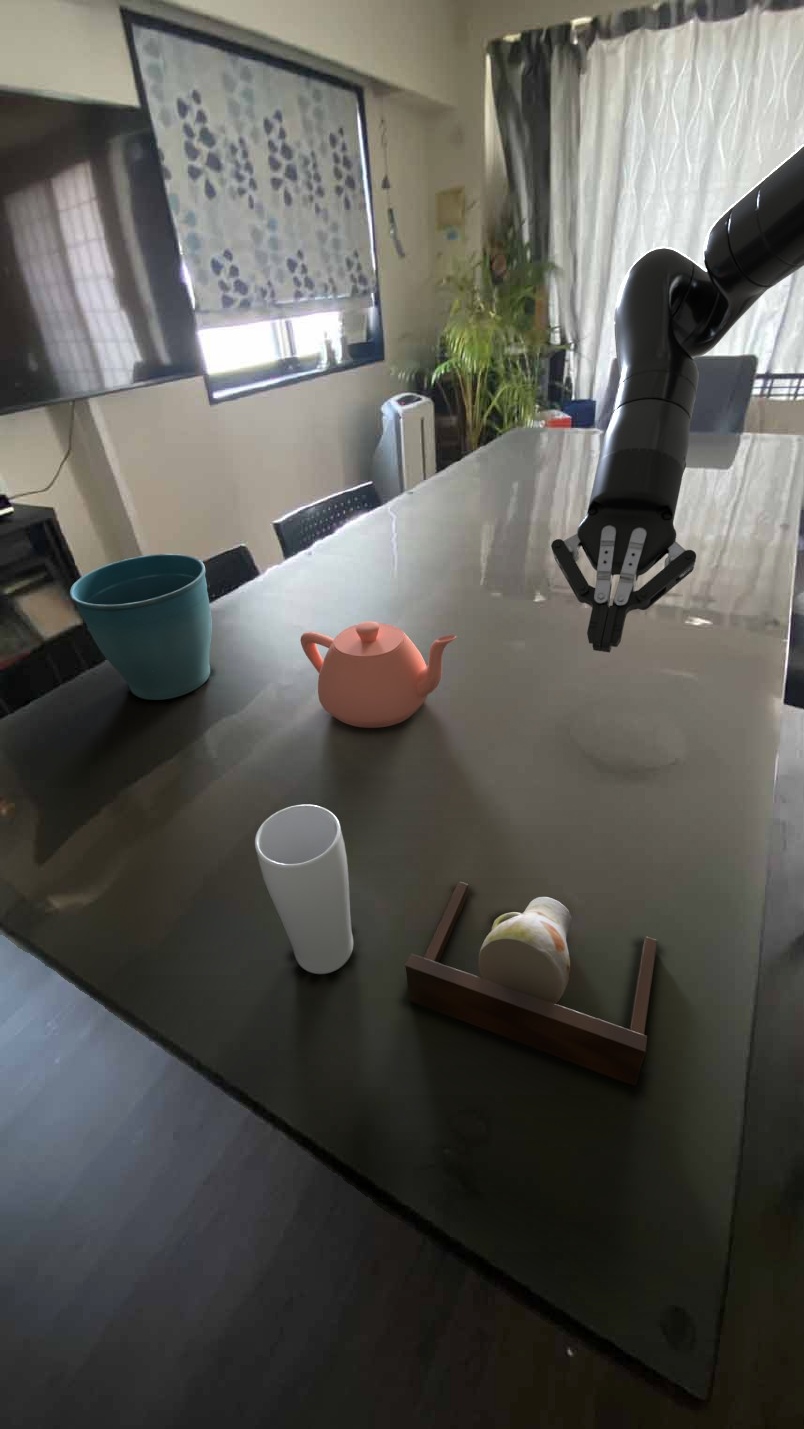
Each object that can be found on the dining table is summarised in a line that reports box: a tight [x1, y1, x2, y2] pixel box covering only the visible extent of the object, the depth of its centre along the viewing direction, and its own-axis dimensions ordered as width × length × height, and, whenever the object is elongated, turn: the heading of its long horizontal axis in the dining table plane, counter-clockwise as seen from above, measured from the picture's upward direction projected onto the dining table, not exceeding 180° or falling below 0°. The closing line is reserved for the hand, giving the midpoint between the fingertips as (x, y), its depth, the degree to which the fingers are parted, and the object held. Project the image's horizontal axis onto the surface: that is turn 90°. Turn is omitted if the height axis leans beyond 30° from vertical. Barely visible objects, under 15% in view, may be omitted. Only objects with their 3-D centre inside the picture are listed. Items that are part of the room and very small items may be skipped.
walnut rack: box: [404, 881, 658, 1087], centre depth 53 cm, size 18×12×5 cm
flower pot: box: [69, 553, 213, 701], centre depth 94 cm, size 18×18×17 cm
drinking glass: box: [254, 804, 355, 975], centre depth 53 cm, size 7×7×15 cm
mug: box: [478, 896, 572, 1004], centre depth 53 cm, size 8×10×10 cm
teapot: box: [299, 620, 457, 729], centre depth 85 cm, size 22×15×12 cm
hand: (601, 649), depth 57 cm, fingers closed
